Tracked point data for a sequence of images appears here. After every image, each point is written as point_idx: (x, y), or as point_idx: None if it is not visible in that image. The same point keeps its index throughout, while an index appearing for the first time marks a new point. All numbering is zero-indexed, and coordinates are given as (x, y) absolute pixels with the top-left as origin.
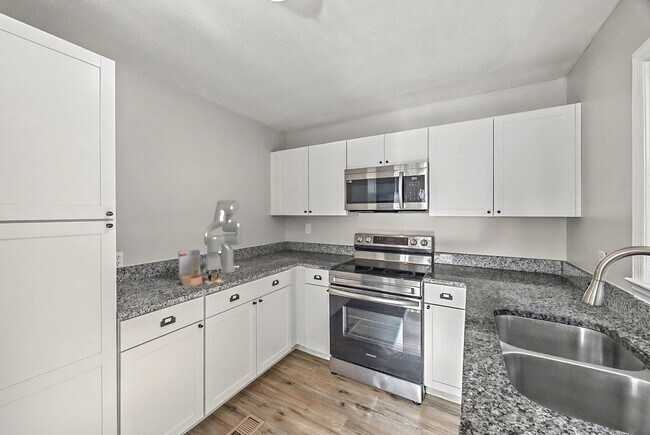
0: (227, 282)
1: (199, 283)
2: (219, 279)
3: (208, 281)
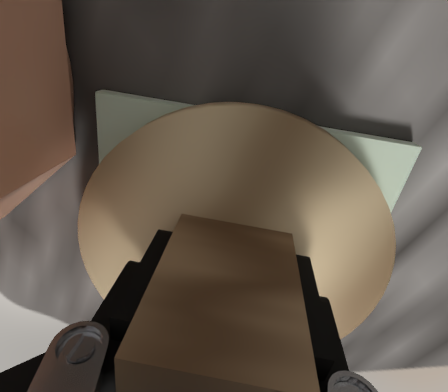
0: None
1: (12, 208)
2: None
3: None
